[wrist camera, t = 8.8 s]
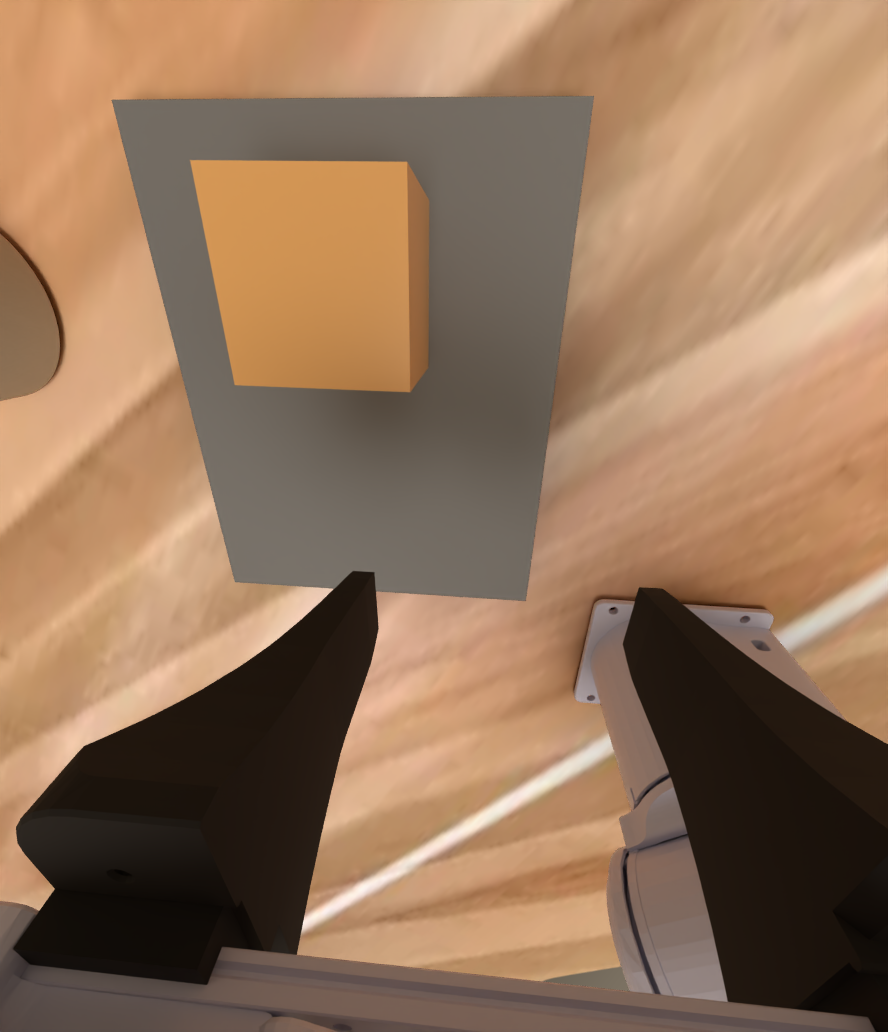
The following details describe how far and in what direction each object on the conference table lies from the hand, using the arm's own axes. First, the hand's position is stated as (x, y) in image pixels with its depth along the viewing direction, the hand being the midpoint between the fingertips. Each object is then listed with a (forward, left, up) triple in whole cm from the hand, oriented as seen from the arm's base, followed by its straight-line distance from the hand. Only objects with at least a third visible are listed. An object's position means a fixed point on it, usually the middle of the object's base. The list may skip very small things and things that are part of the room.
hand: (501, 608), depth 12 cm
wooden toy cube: (+6, -8, -9) cm, 13 cm away
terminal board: (+6, -3, -10) cm, 12 cm away
